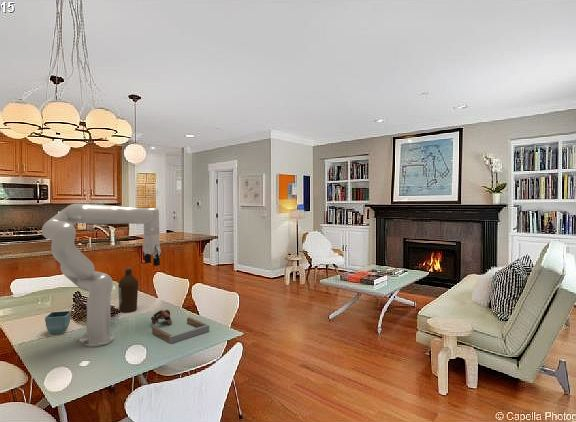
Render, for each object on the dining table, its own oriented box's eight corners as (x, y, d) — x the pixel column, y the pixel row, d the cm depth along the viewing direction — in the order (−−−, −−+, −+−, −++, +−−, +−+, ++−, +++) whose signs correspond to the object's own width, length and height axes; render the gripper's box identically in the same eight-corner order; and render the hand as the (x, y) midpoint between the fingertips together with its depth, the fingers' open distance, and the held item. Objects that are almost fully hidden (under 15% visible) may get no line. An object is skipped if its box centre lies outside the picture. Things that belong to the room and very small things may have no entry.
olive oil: (137, 306, 210) (138, 265, 209) (138, 311, 200) (138, 269, 200) (118, 308, 205) (118, 266, 204) (118, 314, 196) (118, 270, 195)
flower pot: (44, 336, 162) (44, 317, 162) (51, 329, 171) (51, 311, 170) (65, 335, 164) (65, 316, 164) (71, 328, 173) (71, 310, 173)
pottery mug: (169, 328, 177) (160, 315, 175) (154, 335, 179) (145, 322, 177) (178, 315, 189) (170, 303, 187) (163, 321, 190) (155, 309, 189)
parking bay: (170, 343, 157) (171, 337, 157) (151, 333, 169) (152, 327, 169) (209, 331, 173) (209, 325, 173) (189, 322, 185) (189, 317, 185)
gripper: (137, 230, 182) (137, 263, 183) (152, 233, 171) (153, 268, 172) (150, 229, 188) (151, 260, 189) (166, 232, 176) (167, 265, 177)
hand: (152, 264), depth 180 cm, fingers open, 9 cm apart
